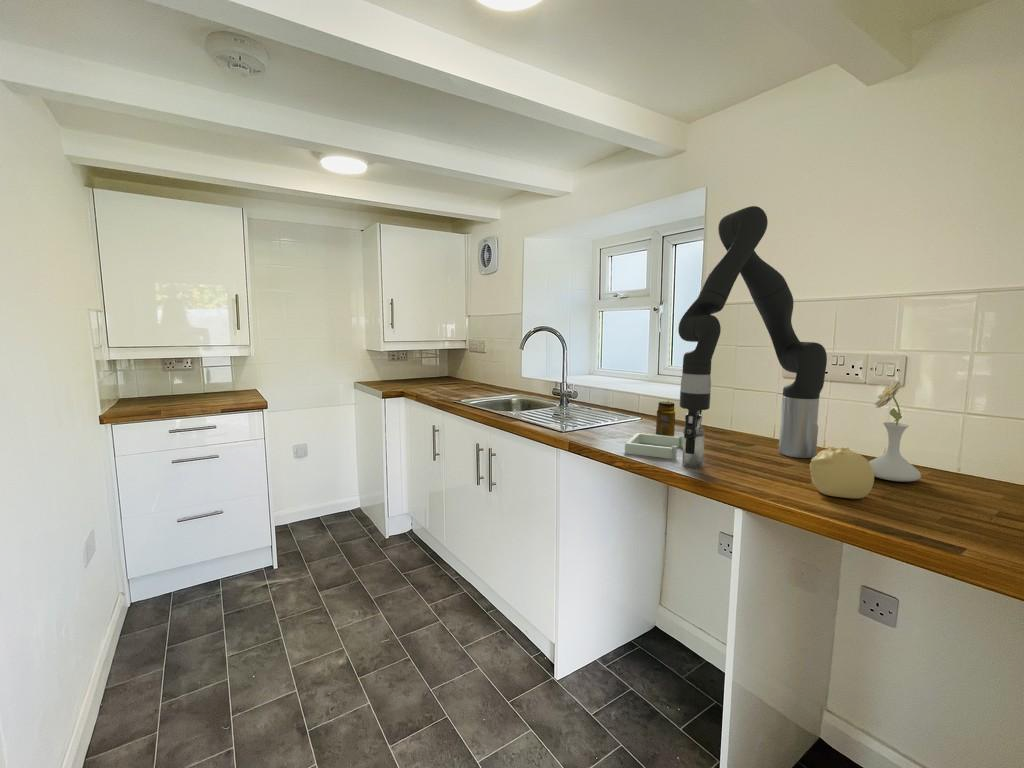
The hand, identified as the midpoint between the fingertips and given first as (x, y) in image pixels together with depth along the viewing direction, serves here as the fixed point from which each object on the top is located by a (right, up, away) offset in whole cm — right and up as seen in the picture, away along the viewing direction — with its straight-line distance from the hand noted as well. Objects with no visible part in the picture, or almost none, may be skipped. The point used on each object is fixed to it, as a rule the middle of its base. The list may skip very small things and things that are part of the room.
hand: (691, 450), depth 128 cm
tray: (-4, -2, +17) cm, 18 cm away
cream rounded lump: (+25, -7, -21) cm, 34 cm away
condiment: (+3, -1, +35) cm, 35 cm away
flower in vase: (+45, -6, -10) cm, 47 cm away
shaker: (0, -4, 0) cm, 5 cm away
